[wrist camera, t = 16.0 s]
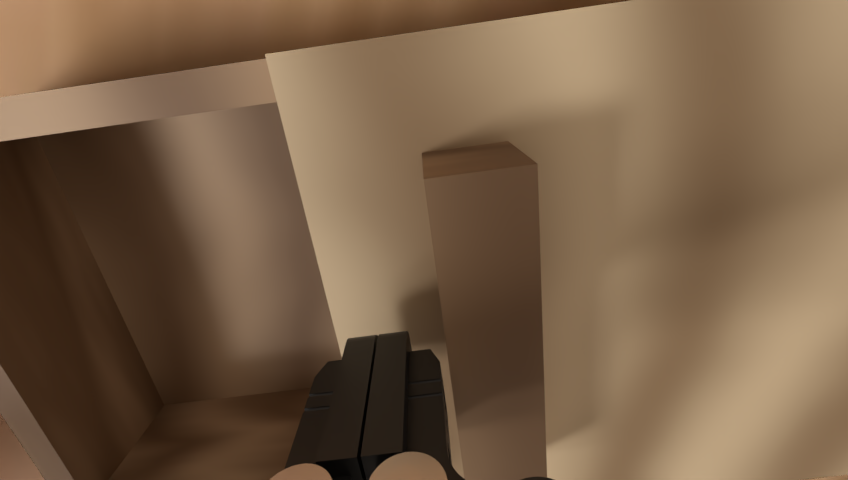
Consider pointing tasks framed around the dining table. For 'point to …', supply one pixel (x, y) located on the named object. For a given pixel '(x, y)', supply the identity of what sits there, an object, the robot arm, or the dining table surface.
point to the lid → (597, 230)
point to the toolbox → (156, 279)
